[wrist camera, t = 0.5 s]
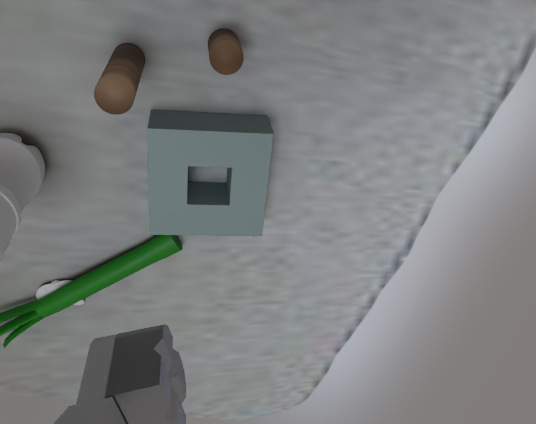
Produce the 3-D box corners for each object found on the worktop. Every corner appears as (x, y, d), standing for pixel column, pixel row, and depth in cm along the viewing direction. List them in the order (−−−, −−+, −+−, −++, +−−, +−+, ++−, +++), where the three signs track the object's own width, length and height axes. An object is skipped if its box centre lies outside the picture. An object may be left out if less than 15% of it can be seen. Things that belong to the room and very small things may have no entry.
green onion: (167, 218, 59) (-47, 328, 62) (167, 233, 57) (-56, 348, 59) (187, 247, 62) (-18, 351, 64) (189, 263, 59) (-26, 371, 62)
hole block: (151, 109, 51) (147, 128, 47) (267, 115, 53) (273, 134, 49) (152, 210, 57) (149, 234, 53) (256, 212, 59) (261, 236, 55)
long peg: (111, 41, 47) (92, 75, 38) (144, 44, 48) (133, 78, 39) (113, 73, 49) (95, 113, 40) (145, 75, 49) (134, 115, 40)
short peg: (208, 27, 48) (210, 39, 44) (240, 29, 48) (244, 41, 44) (207, 59, 49) (208, 73, 45) (237, 61, 50) (242, 75, 46)
